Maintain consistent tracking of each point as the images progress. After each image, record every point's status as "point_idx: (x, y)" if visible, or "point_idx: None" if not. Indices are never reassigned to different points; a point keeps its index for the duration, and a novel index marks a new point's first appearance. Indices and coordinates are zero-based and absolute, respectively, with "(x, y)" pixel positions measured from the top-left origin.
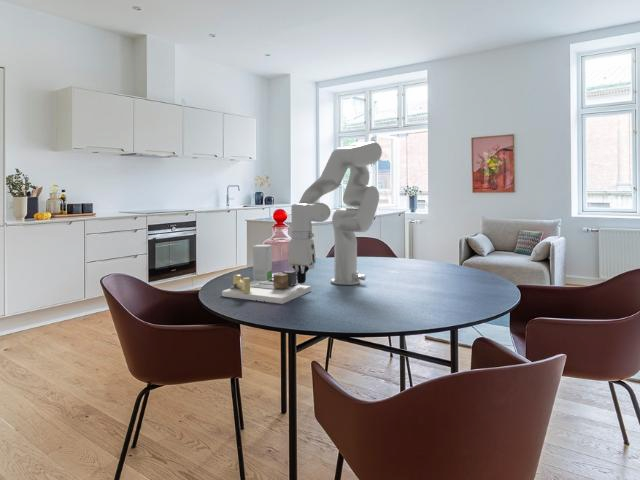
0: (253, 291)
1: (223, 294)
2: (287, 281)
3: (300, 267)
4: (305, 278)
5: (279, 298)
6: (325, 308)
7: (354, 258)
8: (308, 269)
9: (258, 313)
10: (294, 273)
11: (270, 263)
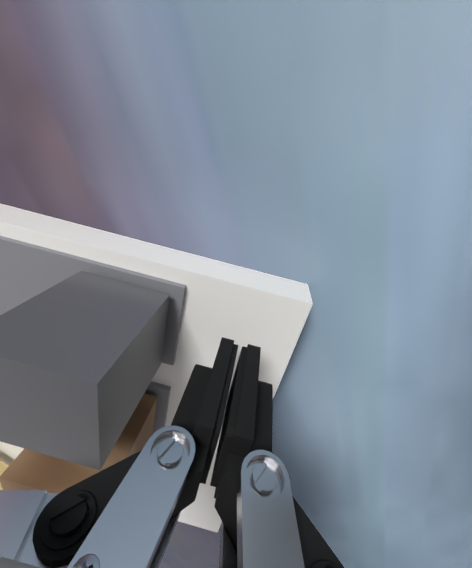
0: None
1: None
2: (137, 439)
3: (162, 528)
4: (271, 403)
5: (203, 524)
6: (408, 550)
7: None
8: (325, 555)
9: (190, 562)
10: (112, 397)
11: None
